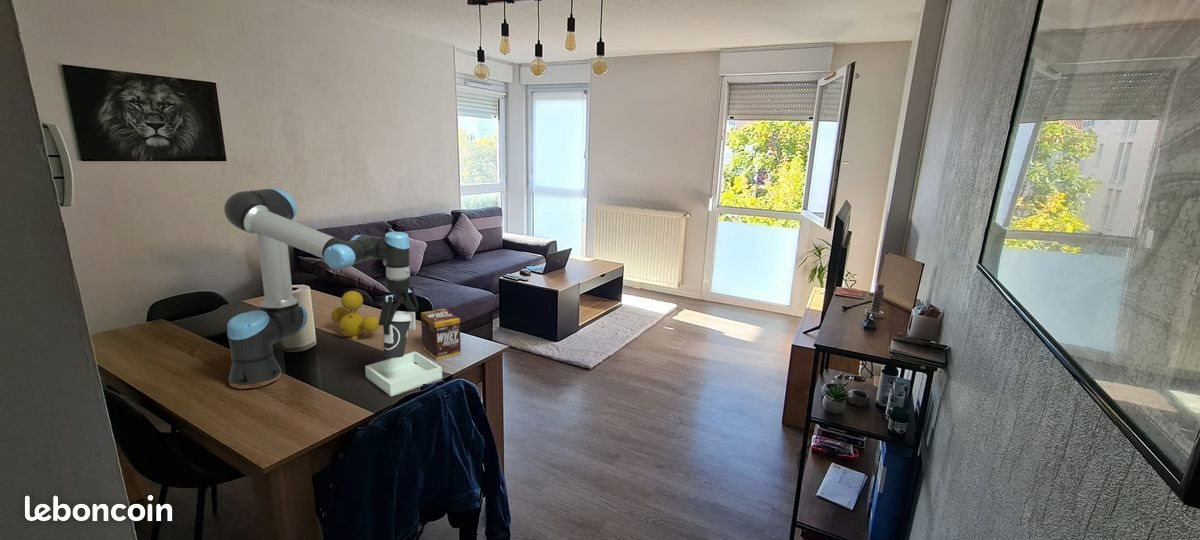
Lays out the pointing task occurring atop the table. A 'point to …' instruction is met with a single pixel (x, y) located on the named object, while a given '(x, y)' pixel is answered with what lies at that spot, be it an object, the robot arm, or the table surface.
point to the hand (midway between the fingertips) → (400, 335)
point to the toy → (353, 316)
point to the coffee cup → (398, 335)
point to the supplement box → (440, 333)
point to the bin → (403, 373)
